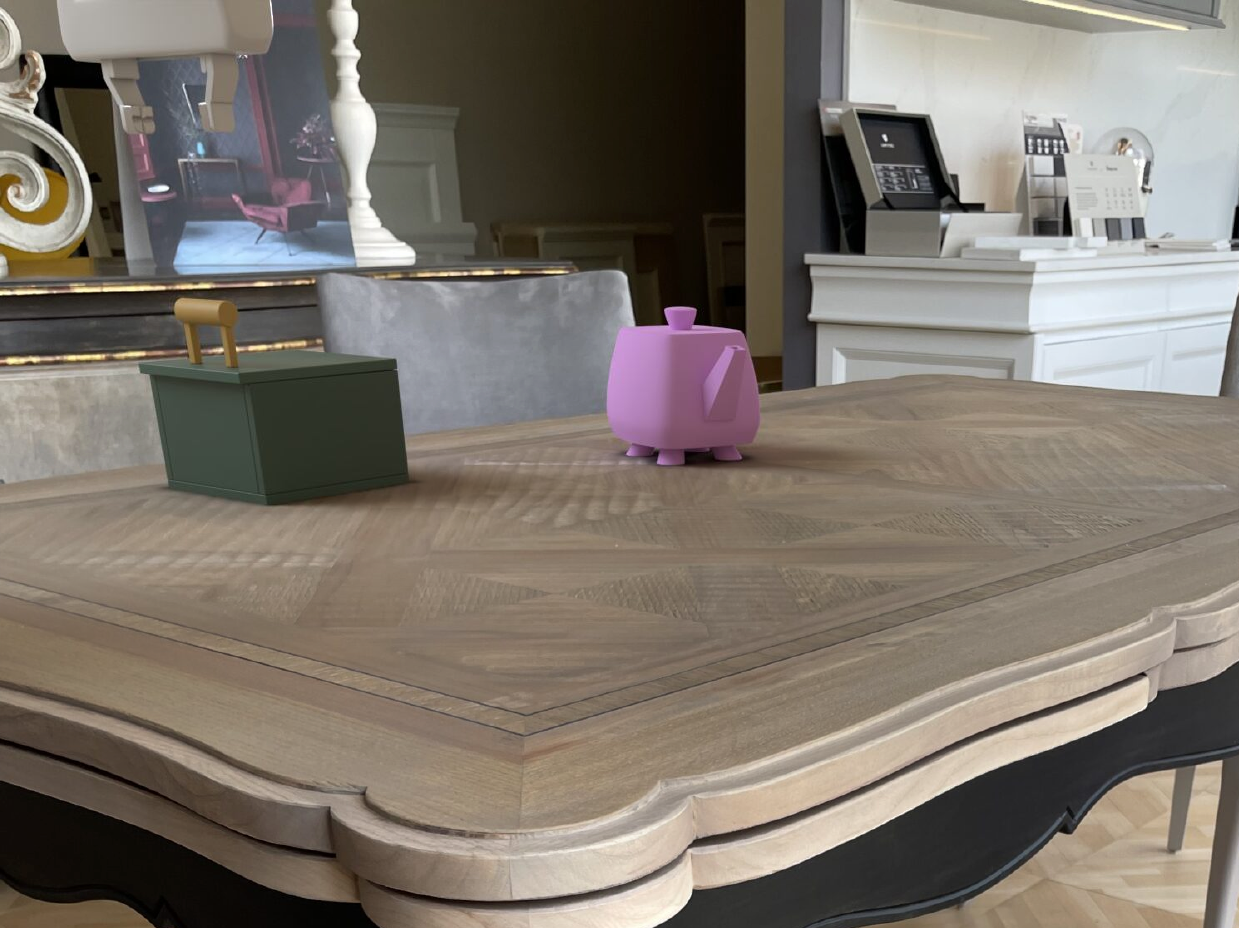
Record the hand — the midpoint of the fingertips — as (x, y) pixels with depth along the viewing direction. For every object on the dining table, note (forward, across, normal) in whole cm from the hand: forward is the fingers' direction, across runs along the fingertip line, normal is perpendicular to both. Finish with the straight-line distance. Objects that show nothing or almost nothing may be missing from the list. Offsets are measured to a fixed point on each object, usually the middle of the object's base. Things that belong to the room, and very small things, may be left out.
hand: (179, 133), depth 114 cm
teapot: (+25, +15, +39) cm, 49 cm away
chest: (+25, 0, +6) cm, 26 cm away
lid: (+16, 0, +5) cm, 17 cm away
